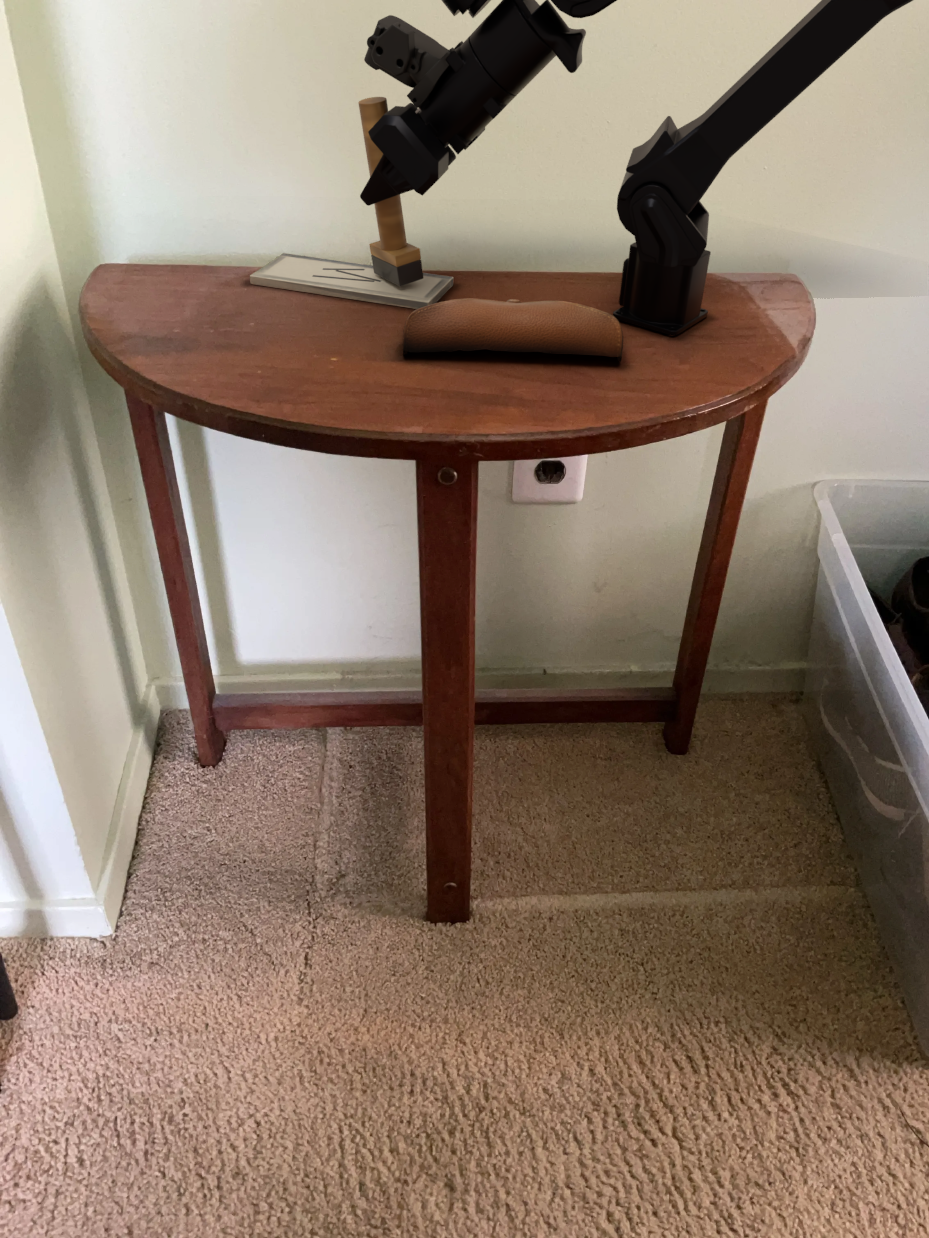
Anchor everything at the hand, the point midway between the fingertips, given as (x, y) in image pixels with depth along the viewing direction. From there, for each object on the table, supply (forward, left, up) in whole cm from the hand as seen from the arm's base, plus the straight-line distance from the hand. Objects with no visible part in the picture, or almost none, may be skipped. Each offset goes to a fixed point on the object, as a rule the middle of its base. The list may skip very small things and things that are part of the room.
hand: (368, 196), depth 89 cm
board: (+2, +1, -8) cm, 9 cm away
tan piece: (-2, -1, -7) cm, 7 cm away
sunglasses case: (-18, +2, -8) cm, 20 cm away
